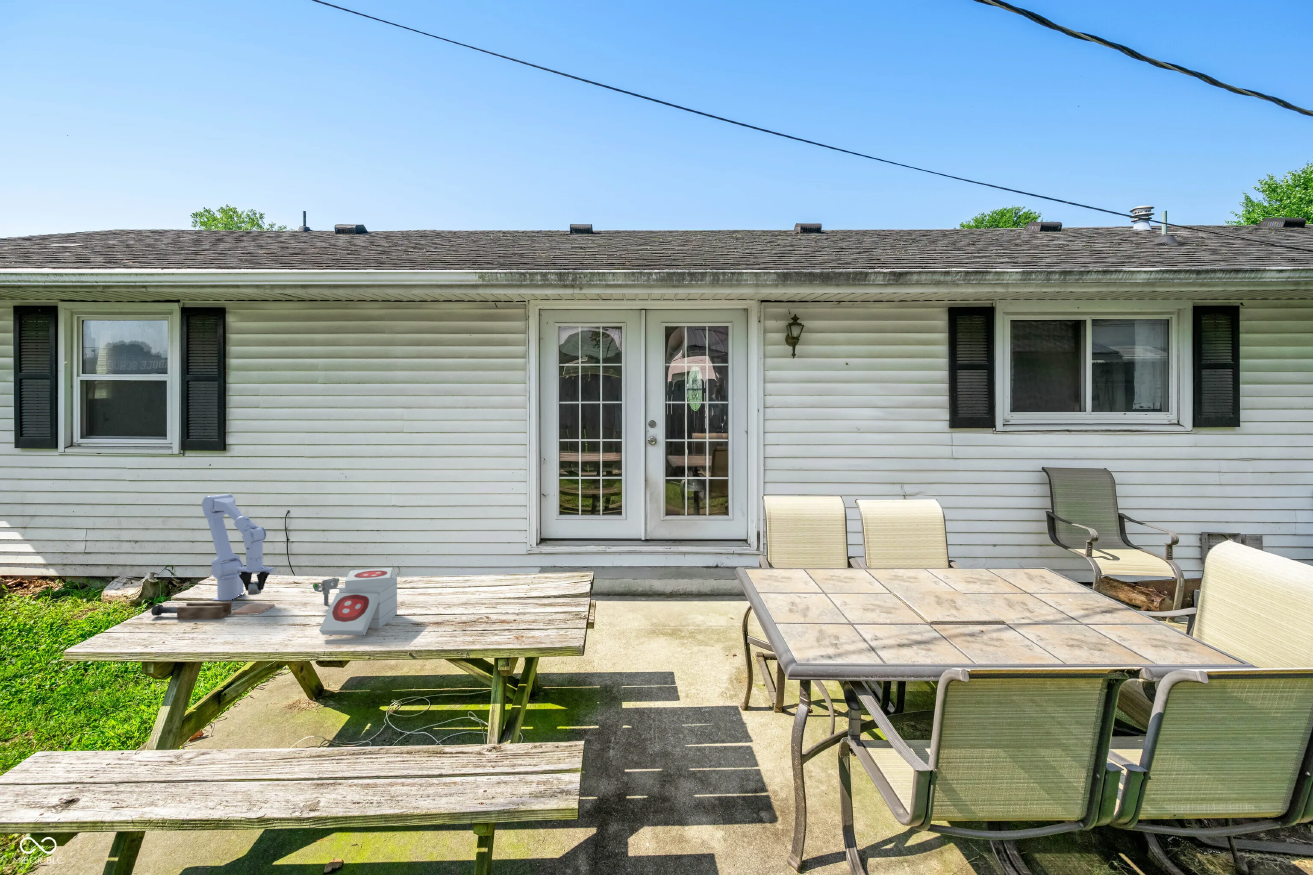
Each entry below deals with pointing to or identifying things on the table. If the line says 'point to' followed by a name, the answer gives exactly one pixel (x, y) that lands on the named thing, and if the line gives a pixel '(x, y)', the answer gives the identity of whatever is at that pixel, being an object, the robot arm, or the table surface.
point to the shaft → (162, 610)
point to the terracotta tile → (253, 608)
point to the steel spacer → (253, 588)
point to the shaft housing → (204, 610)
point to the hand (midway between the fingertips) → (254, 589)
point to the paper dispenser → (362, 603)
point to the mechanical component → (326, 587)
